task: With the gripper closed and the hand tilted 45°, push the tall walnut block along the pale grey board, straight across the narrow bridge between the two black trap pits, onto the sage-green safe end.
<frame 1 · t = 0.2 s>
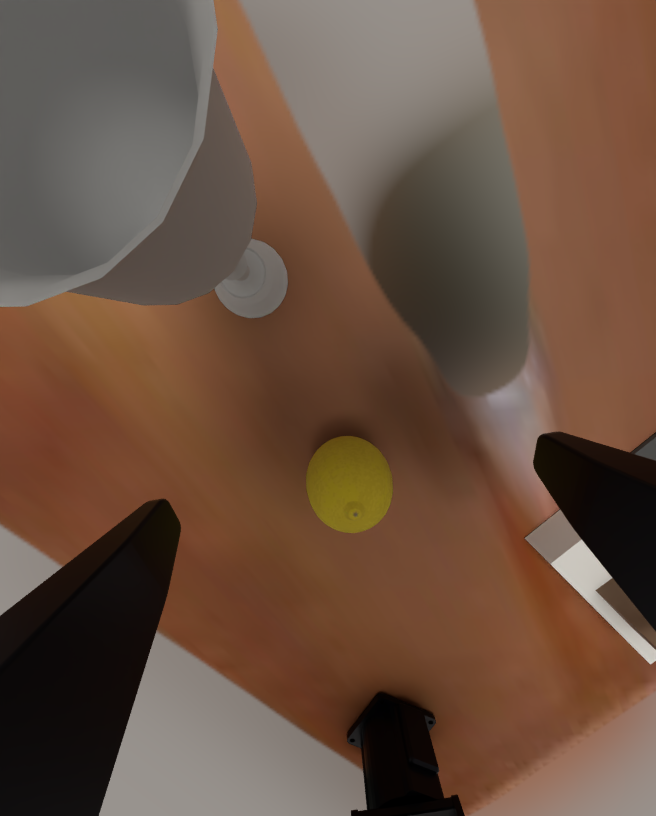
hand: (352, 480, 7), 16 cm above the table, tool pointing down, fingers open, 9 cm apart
lemon: (343, 455, 24), on the table
chalice: (250, 280, 21), on the table
walnut block: (640, 589, 24), point 3 cm above the table, touching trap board
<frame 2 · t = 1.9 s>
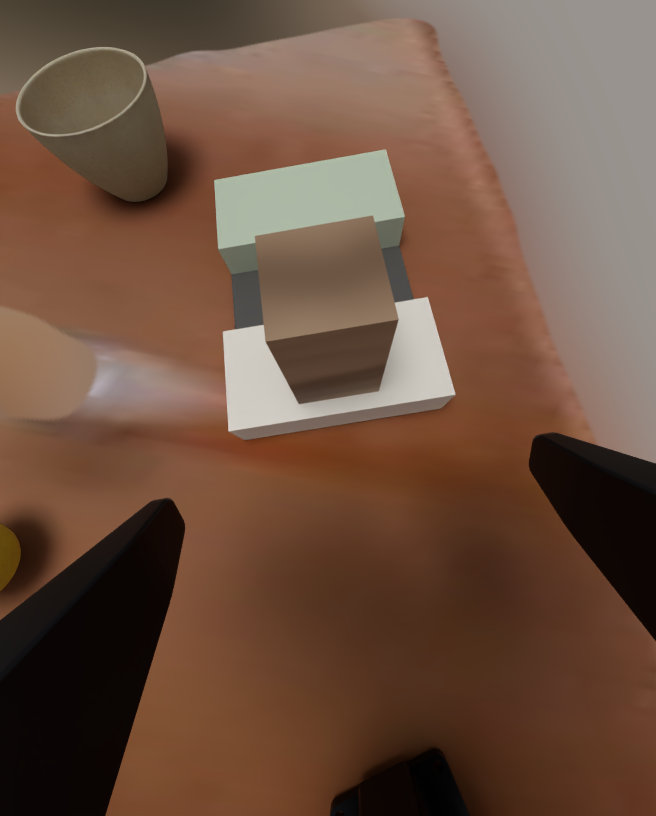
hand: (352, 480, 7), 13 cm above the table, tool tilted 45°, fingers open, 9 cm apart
lemon: (17, 556, 21), on the table
flower pot: (143, 184, 30), on the table
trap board: (322, 303, 25), on the table
walnut block: (332, 361, 20), point 3 cm above the table, touching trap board
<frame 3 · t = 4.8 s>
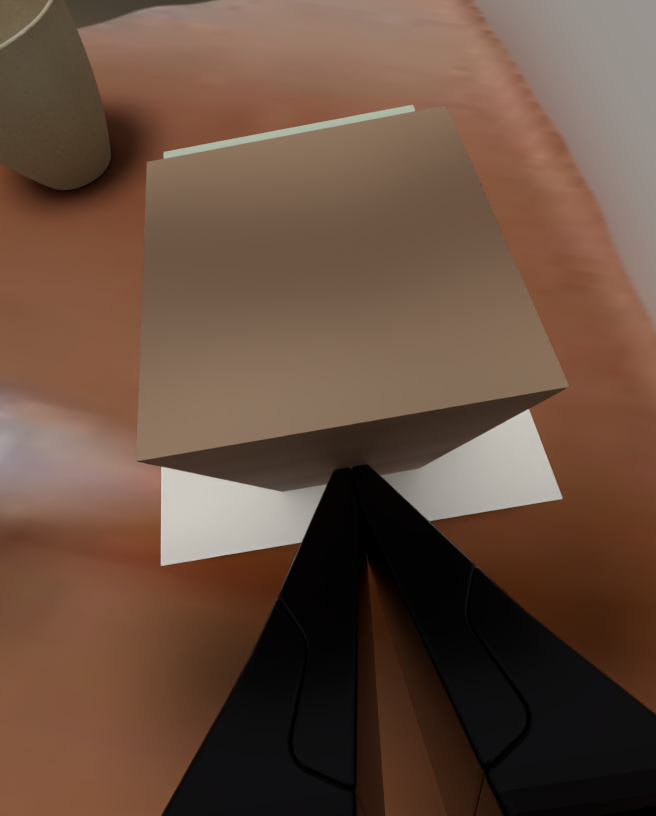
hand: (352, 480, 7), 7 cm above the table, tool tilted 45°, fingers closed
flower pot: (79, 167, 22), on the table
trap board: (322, 329, 17), on the table
walnut block: (338, 414, 12), point 3 cm above the table, touching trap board
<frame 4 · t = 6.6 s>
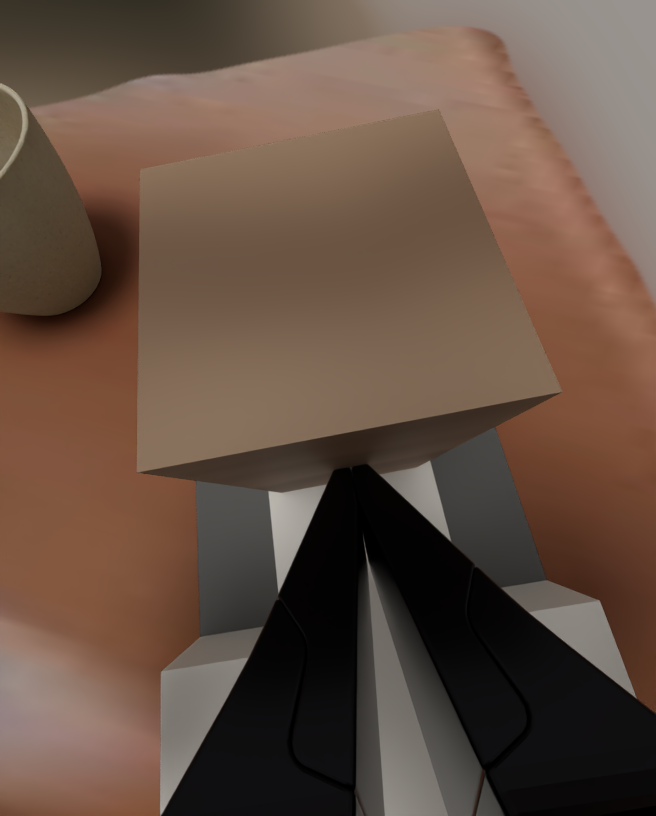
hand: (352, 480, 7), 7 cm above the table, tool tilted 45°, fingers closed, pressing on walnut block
flower pot: (65, 282, 19), on the table
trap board: (357, 528, 13), on the table
walnut block: (336, 415, 12), point 3 cm above the table, touching gripper
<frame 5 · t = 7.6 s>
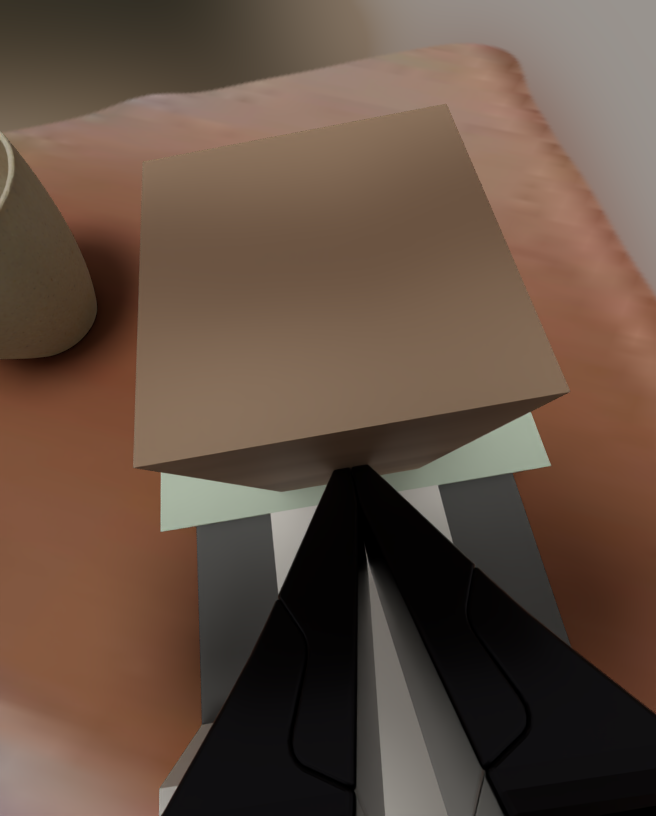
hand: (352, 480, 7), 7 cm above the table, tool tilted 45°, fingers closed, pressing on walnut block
flower pot: (59, 319, 18), on the table
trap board: (370, 601, 13), on the table
walnut block: (337, 414, 12), point 3 cm above the table, touching gripper, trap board
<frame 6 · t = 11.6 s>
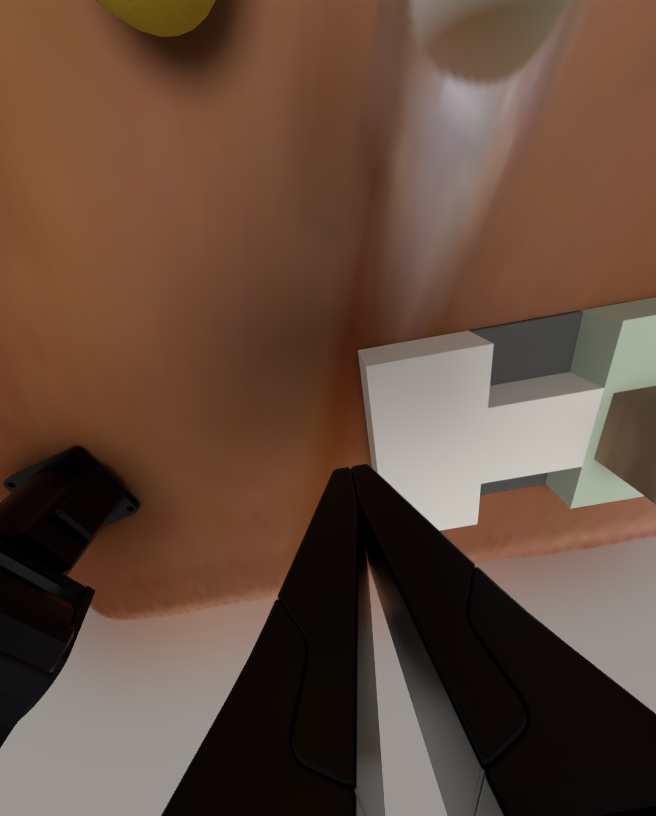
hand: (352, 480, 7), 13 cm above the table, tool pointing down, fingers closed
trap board: (503, 417, 22), on the table
walnut block: (642, 421, 20), point 3 cm above the table, touching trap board
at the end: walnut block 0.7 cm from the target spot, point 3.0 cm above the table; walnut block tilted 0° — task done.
